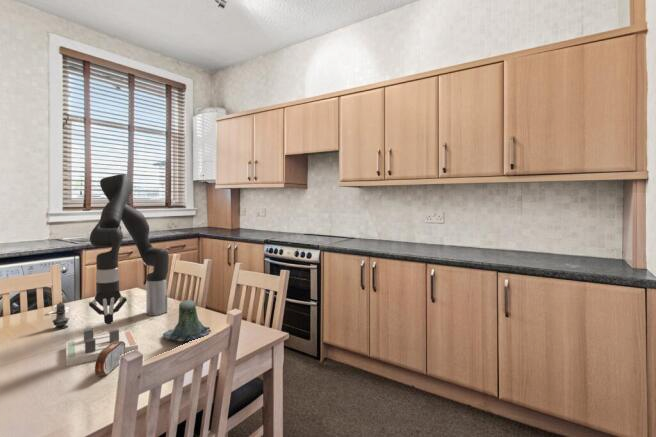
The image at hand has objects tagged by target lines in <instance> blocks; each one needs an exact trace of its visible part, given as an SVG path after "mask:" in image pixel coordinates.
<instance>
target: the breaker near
mask: <svg viewBox="0 0 656 437" xmlns="http://www.w3.org/2000/svg"><path fill="white" fill-rule="evenodd" d="M93 351H95V338H93V339H88V340H85V353H88V352H93Z"/></svg>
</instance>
